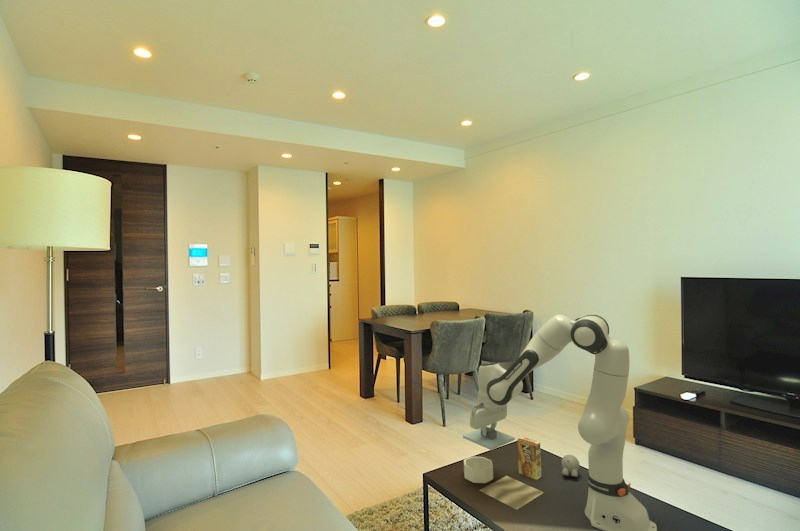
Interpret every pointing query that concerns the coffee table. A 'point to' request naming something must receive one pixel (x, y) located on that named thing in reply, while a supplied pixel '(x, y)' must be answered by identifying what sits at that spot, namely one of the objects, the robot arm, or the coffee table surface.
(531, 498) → the tan square mat
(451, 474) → the coffee table surface
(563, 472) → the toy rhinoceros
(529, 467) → the candy box
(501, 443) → the lid
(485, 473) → the bowl
